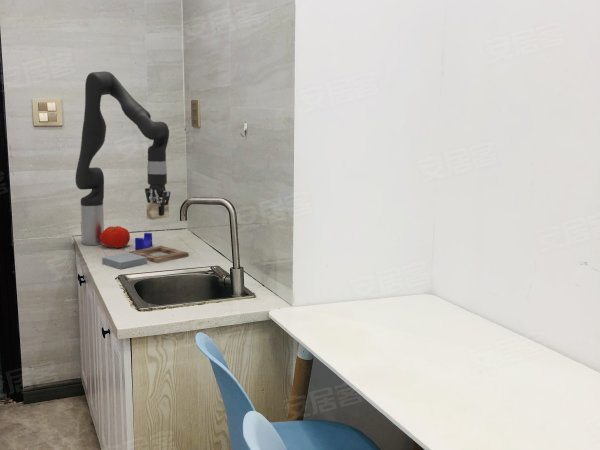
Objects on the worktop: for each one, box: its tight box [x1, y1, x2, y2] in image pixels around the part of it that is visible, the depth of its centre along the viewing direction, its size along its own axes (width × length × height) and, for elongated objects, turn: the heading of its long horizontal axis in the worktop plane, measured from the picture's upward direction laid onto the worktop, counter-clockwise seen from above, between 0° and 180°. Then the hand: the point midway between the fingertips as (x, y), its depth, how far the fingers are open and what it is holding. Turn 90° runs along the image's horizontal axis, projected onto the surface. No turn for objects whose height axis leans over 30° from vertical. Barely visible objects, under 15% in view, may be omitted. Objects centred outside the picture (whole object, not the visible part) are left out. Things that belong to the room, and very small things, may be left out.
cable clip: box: [134, 232, 153, 251], centre depth 265 cm, size 12×4×6 cm, turn 173°
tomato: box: [100, 225, 131, 249], centre depth 267 cm, size 13×12×8 cm
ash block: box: [145, 201, 170, 221], centre depth 251 cm, size 4×8×6 cm, turn 140°
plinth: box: [101, 251, 148, 270], centre depth 241 cm, size 12×12×2 cm
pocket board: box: [129, 245, 189, 264], centre depth 254 cm, size 18×16×2 cm
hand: (157, 214), depth 251 cm, fingers closed on ash block, 4 cm apart
